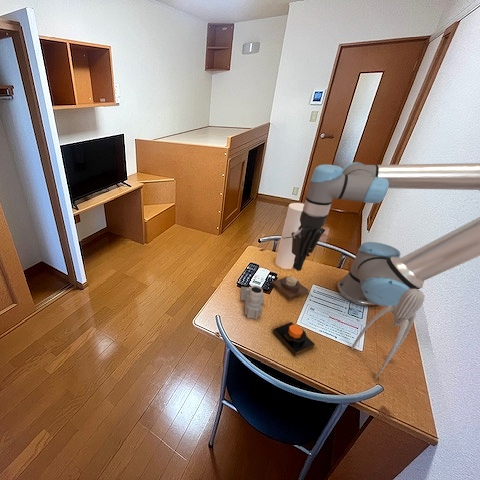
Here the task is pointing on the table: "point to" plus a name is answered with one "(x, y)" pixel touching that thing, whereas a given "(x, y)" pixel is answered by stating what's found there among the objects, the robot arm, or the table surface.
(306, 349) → the dark button base
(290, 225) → the container
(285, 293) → the brown button base
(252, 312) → the grey pipe fitting
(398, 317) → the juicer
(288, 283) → the cream button
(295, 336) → the orange button
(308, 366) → the table surface
